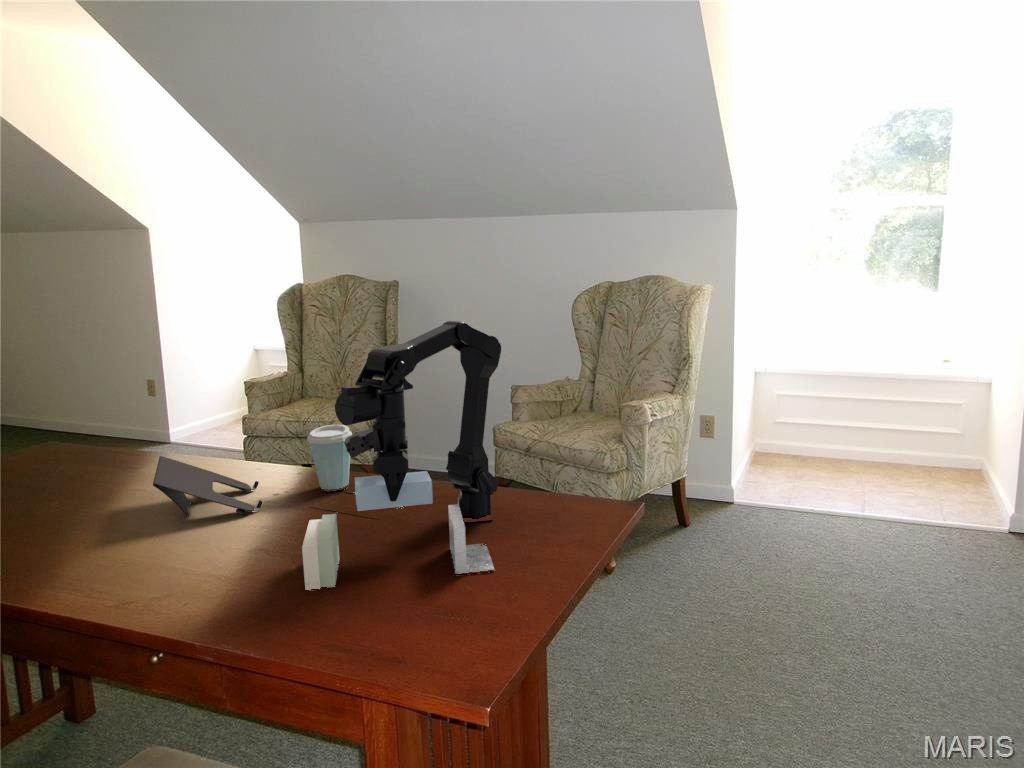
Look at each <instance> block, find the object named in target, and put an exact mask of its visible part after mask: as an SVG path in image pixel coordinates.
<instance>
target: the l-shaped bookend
mask: <svg viewBox="0 0 1024 768" xmlns="http://www.w3.org/2000/svg"><path fill="white" fill-rule="evenodd" d="M447 509H448V510H447V511H448V527H449V528H448V531H449V533H448V534H449V535H448V536H449V551H450V550H451V551H450V555H451V554H452V556H451V559H453V561H452V565H453V564H454V565H453V569H455V570H454V574H462V573H469V572H480V571H488V570H494V571H495V567H494V563H493V561H492V558H491V556H490V555H491V554H490V551H489V549H488V546H485V545H487V543H486V544H485V545H483V544H484V543H475V544H473V543H472V544H467V541H466V540H467V539H466V525H465V523H464V521H463V518H462V514H461V511H460V507H459V504H458V503H457V504H456V503H455V504H448V507H447ZM481 545H482V546H481Z"/></svg>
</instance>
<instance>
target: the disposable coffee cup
mask: <svg viewBox="0 0 1024 768" xmlns="http://www.w3.org/2000/svg"><path fill="white" fill-rule="evenodd" d="M352 432H353V431H351V430H350V427H349V426H348V425H343V424H328V425H323V426H320V427H316V428H314V429H313V430H311V431H310V432H309V434H308V436H307V442H308V444H309V448H310V452H311V456H312V460H313V464H314V467H315V472H316V476H317V480H318V483H319V487H320V488H321V490H322V489H328V490H330V489H339V488H343V487H345V486H347V485H348V486H349V482H350V481H349V480H350V466H351V457H350V455H349V452H347V451H346V449H347V448H346V446H345V444H344V442H345V439H346V438H347V437H349V436H351V435H353V433H352Z"/></svg>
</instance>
